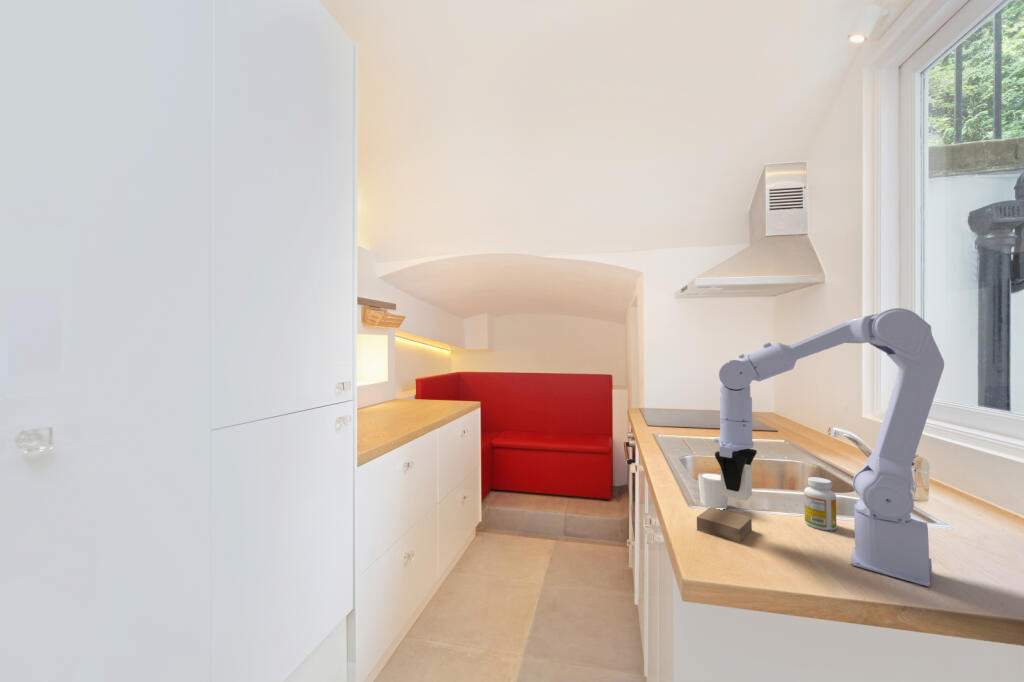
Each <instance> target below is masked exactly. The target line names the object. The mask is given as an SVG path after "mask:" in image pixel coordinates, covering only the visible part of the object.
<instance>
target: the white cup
mask: <svg viewBox="0 0 1024 682" xmlns="http://www.w3.org/2000/svg"><path fill="white" fill-rule="evenodd" d="M697 479H698V486H699V487H698V488H699V490H698V491H699V497H700V498H699V499H700V504H701V503H702V504H703V505H705V506H708V507H713V508H728V500H729V497H727V496H723V495H721V473H715V472H714V473H713V472H700V473H698V475H697Z"/></svg>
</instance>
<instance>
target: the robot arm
mask: <svg viewBox="0 0 1024 682" xmlns="http://www.w3.org/2000/svg"><path fill="white" fill-rule="evenodd" d="M867 343H868V344H869V345H871V346H873V347H874V348H877V349H878V350H880V351H881V352H884V353H885V354H886V356H888V357H889V358H890V359H891V360H892V362H894V364H895V365H896V366H898V368H899V369H898V373H897V376H896V380H895V381H894V386H893V389H892V391H891V394H890V398H889V400H888V404H887V408H886V411H885V414H884V416H883V420H882V423H881V426H880V430H879V432H878V435H877V438H876V440H875V441H876V442H875V443H874V444H875V445H874V448H873V451H872V453H871V454H870V455H869V456H868V457H867V458H866V460H865V464H864V466H863V467H862V468H861V469H860V470H859V471H857V472H856V473H855V475H854V476H853V478H852V487H853V490H854V491H855V492H856V494H857V495H858V496H859V497H860V498H859V499H858V500H857V502H856V503H854V505H853V509H854V510H853V511H854V547H853V551H852V554H851V555H852V556H851V558H850V565H852V566H854V567H858V568H861V569H863V570H869V571H873V572H876V573H879V574H881V575H886V576H889V577H893V578H897V579H900V580H904V581H906V582H907V581H908V582H910V583H914V584H918V585H922V586H925V587H930V585H931V582H930V571H932V570H933V569H932V568H933V566H932V563H933V562H932V558H930V551H929V550H930V547H929V544H930V543H929V542H930V541H929V529H928V527H929V526H928V523H927V522H924V521H921V520H917V519H914V518H912V517H911V513H912V512H913V510H914V506H915V503H914V499H913V496H912V488H913V483H914V478H913V470H912V469H913V468H912V465H913V463H914V459H915V455H916V453H917V450H918V446H919V444H920V441H921V438H922V435H923V432H924V428H925V427H926V423H927V420H928V417H929V414H930V410H931V407H932V404H933V402H934V398H935V396H936V394H937V389H938V387H939V384H940V381H941V377H942V375H943V371H944V368H945V360H944V358H943V356H942V354H941V352H940V350H939V347H938V345H937V343H936V341H935V338H934V337H933V332H932V326H931V324H929V323H928V322H926V320H924V319H923V318H922V317H921V316H919V314H918V313H916V312H914V311H912V310H910V309H907V308H900V307H899V308H889V309H886V310H883V311H882V312H880V313H875V314H869V315H866V316H865V315H864V316H862V317H858V318H854V319H850V320H848V321H844V322H841V323H839V324H836V325H834V326H831V327H830V328H827V329H825V330H822V331H820V332H818V333H815V334H813V335H810V336H808V337H805V338H803V339H801V340H799V341H796V342H793V343H791V344H789V345H788V344H785V343H782V342H774V343H772V344H771V342H767V343H764V344H763V345H762V347H763V348H760V349H757V350H755V351H753V352H749V353H748V354H743V353H741V354H739V355H738V358H739V360H738V359H731V360H729V361H728V362H725V363H724V364H723V365H722V366H721V367H720V368H719V371H718V378H719V381H720V382H721V385H720V389H719V390H720V395H719V429H720V430H719V433H720V434H719V437H715V438H713V442H714V443H717V444H719V451H715V452H714V458H715V460H716V461H717V463H718V465H719V467H720V471H721V470H722V473H723V477H724V481H725V485H726V488H727V489H728V490H733V491H737V492H738V491H739V489H740V484H741V477H742V472H743V469H744V466H745V464H747V465H752V463H753V460H754V458H755V457H756V456H757V454H758V452H757V449H753V448H754V447H755V445H754V442H753V398H752V396H751V383H752V382H753V381H755V382H761V381H765V380H767V379H770V378H773V377H775V376H778V375H780V374H783V373H786V372H789V371H792V370H794V368H795V366H796V363H797V361H798V360H800V359H803V358H806V357H808V356H811V355H814V354H819V353H820V352H823V351H826V350H829V349H831V348H835V347H837V346H841V345H843V344H867Z"/></svg>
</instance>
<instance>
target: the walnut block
mask: <svg viewBox="0 0 1024 682" xmlns="http://www.w3.org/2000/svg"><path fill="white" fill-rule="evenodd" d="M752 519H753V518H752V517H750V516H746V515H742V514H738V513H735V512H731V511H727V510H720V509H716V508H713V507H710V508H706V510H705V511H703V512H702V513H700V514H699V515H697V516H696V531H700V532H702V531H703V533H705V532H706V534H708V533H709V535H712V536H716V537H717V538H718V537H719V538H722V539H725V540H729V541H731V542H735V543H739V544H740V543H741V542H742V541H743V540H745V538H747V536H748V535H750V533H751V532H752V531H753V530H752V529H753V527H752V524H753V523H752V522H753V521H752Z"/></svg>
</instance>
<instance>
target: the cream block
mask: <svg viewBox="0 0 1024 682" xmlns="http://www.w3.org/2000/svg"><path fill="white" fill-rule="evenodd" d="M752 467H753V466H752V464H751V465H747V464H745V466H744V469H743V472H742V477H741V484H740V489H739V491H738V492H737V491H733V490H728V489H727V488H726V485H725V481H724V477H723V473H722V470H721V469H720V475H721V495H723V496H727V497H728V498H731V499H732V498H733V499H736V500H741V501H744V502H746V501H748V499H750V498H751V497H752V496H753V492H752V491H753V474H752V473H753V471H752V470H753V468H752Z"/></svg>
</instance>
